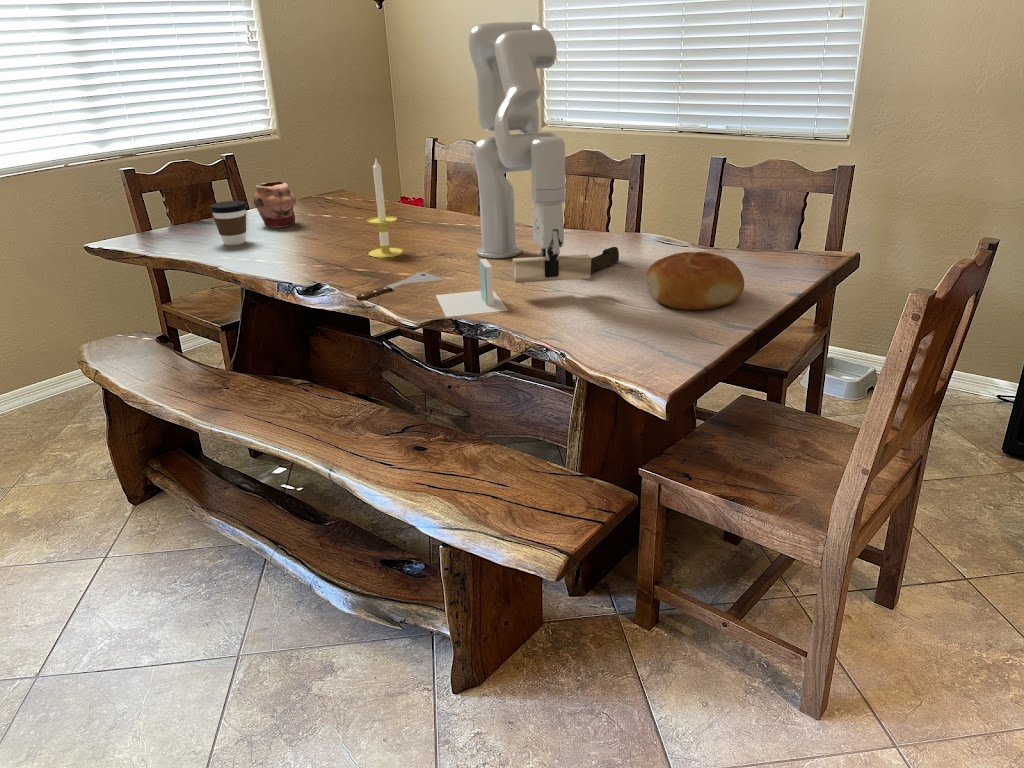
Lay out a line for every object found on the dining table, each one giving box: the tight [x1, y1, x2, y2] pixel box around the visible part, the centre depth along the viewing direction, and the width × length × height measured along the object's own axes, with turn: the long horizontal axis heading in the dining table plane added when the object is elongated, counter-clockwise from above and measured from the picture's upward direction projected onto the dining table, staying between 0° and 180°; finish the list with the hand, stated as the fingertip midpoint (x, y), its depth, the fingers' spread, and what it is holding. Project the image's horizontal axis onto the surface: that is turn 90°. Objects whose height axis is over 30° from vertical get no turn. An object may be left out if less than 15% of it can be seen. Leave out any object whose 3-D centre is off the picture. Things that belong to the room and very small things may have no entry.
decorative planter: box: [253, 181, 297, 228], centre depth 260 cm, size 20×12×14 cm, turn 51°
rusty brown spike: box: [591, 246, 620, 273], centre depth 202 cm, size 19×4×5 cm, turn 136°
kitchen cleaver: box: [355, 271, 444, 301], centre depth 194 cm, size 24×1×10 cm
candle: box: [366, 158, 404, 259], centre depth 219 cm, size 10×10×27 cm
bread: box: [645, 251, 745, 311], centre depth 179 cm, size 23×23×10 cm
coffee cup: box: [209, 200, 248, 246], centre depth 239 cm, size 11×11×12 cm
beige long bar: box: [512, 254, 592, 284], centre depth 182 cm, size 3×18×5 cm, turn 103°
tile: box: [478, 258, 494, 306], centre depth 179 cm, size 7×2×9 cm, turn 13°
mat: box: [435, 289, 509, 318], centre depth 181 cm, size 16×14×1 cm
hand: (549, 274), depth 182 cm, fingers closed on beige long bar, 2 cm apart
